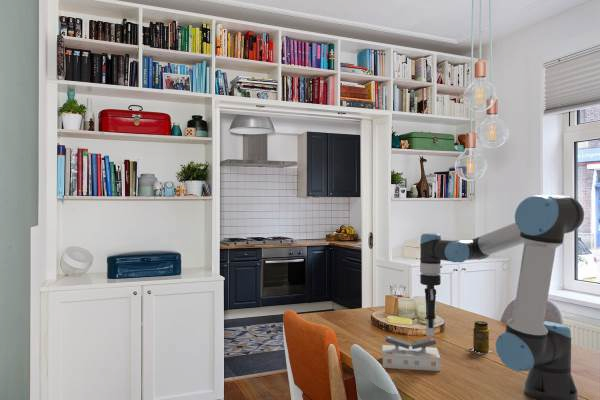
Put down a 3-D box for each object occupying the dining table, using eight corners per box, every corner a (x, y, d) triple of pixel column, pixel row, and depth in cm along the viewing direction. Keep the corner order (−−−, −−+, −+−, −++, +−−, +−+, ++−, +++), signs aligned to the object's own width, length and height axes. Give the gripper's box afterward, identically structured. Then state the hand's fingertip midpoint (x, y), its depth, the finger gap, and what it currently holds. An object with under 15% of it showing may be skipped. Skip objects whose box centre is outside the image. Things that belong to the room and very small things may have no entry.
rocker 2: (436, 344, 179) (435, 340, 179) (412, 349, 180) (411, 345, 180) (434, 341, 183) (433, 337, 183) (411, 345, 185) (410, 341, 185)
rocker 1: (408, 349, 181) (409, 345, 181) (385, 341, 182) (386, 337, 182) (408, 345, 185) (409, 341, 185) (385, 338, 186) (386, 334, 186)
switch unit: (440, 371, 175) (440, 352, 175) (382, 367, 178) (382, 349, 178) (436, 360, 187) (436, 342, 187) (382, 357, 190) (382, 340, 190)
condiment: (493, 351, 199) (493, 322, 199) (480, 355, 194) (480, 325, 194) (478, 347, 205) (478, 319, 205) (465, 350, 200) (465, 322, 200)
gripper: (442, 276, 175) (442, 341, 175) (438, 271, 188) (438, 331, 187) (421, 276, 176) (421, 340, 176) (419, 271, 189) (418, 330, 189)
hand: (430, 335), depth 182 cm, fingers closed
